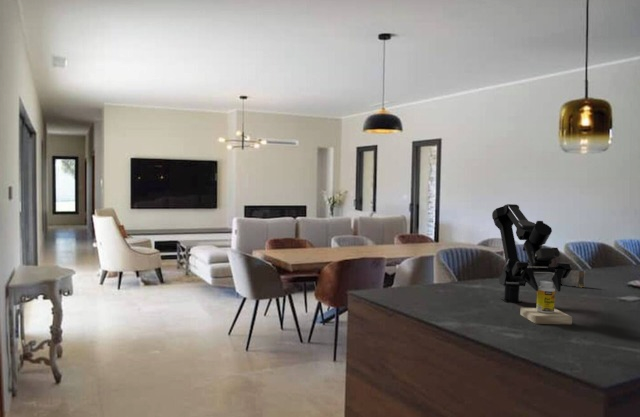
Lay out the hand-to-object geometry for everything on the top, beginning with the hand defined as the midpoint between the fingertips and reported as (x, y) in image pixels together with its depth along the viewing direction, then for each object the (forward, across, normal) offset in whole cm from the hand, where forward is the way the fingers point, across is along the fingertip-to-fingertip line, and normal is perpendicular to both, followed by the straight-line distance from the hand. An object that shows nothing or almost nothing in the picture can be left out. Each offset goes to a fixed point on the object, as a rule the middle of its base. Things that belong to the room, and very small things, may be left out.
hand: (548, 290), depth 173 cm
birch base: (+6, 0, +8) cm, 10 cm away
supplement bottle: (+4, 0, +6) cm, 8 cm away
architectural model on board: (-40, +42, +56) cm, 81 cm away
